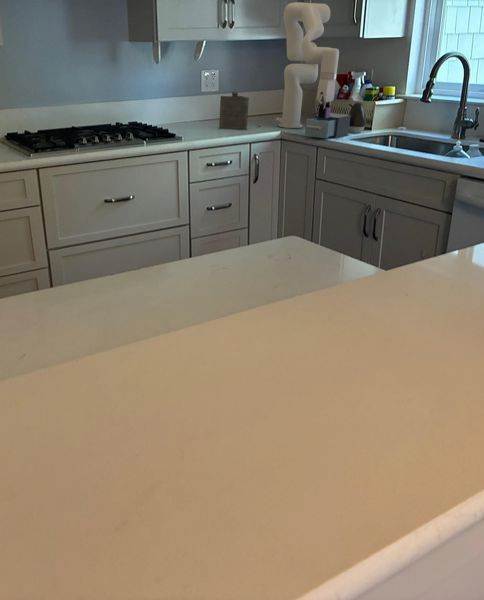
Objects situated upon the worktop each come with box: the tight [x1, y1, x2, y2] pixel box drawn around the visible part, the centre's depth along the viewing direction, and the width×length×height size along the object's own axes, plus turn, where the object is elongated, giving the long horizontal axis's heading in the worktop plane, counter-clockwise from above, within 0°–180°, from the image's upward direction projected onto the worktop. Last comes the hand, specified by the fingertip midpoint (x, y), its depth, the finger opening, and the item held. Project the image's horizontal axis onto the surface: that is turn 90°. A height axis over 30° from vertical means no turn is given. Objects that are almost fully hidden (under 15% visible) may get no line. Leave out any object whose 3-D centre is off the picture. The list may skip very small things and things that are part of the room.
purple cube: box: [317, 107, 332, 118], centre depth 293 cm, size 4×4×4 cm
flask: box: [218, 91, 250, 131], centre depth 313 cm, size 4×14×18 cm, turn 81°
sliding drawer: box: [304, 117, 337, 139], centre depth 294 cm, size 18×11×8 cm, turn 144°
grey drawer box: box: [313, 112, 351, 139], centre depth 304 cm, size 15×13×10 cm
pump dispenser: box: [347, 101, 367, 134], centre depth 314 cm, size 10×10×15 cm
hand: (323, 116), depth 294 cm, fingers closed on purple cube, 4 cm apart
